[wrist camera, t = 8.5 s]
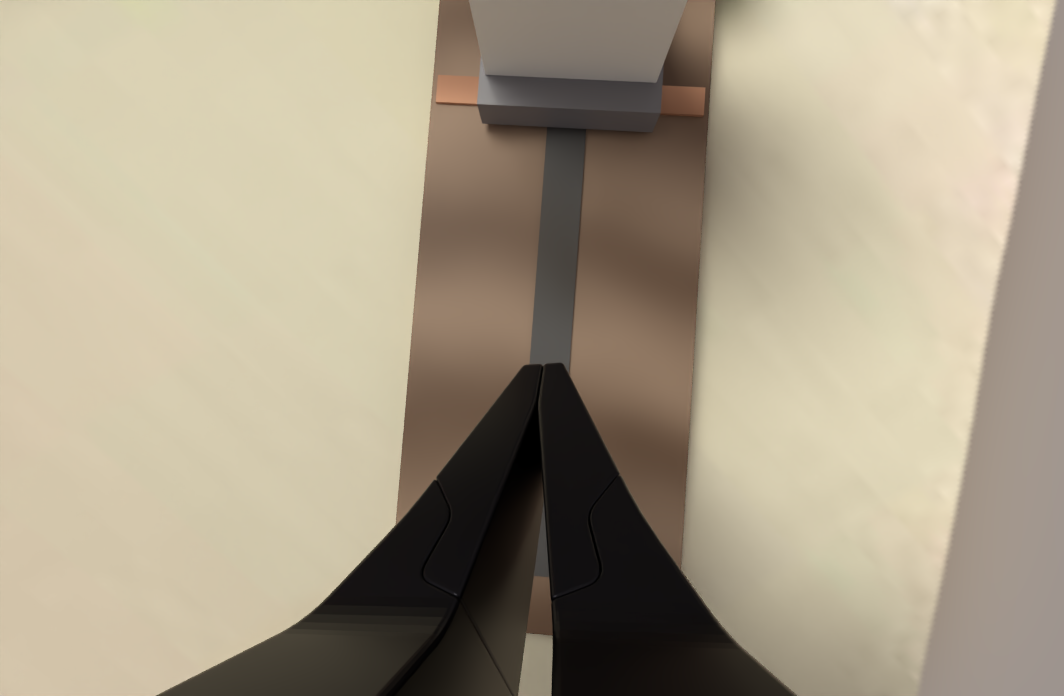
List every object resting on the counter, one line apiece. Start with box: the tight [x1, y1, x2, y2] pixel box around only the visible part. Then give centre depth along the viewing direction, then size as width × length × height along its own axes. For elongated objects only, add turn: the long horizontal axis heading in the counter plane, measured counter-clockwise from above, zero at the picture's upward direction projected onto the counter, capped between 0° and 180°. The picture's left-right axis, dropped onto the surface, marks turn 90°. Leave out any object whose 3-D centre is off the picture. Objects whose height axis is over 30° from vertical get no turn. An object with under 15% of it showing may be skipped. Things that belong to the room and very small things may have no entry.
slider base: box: [396, 0, 715, 635], centre depth 15 cm, size 26×10×4 cm, turn 176°
